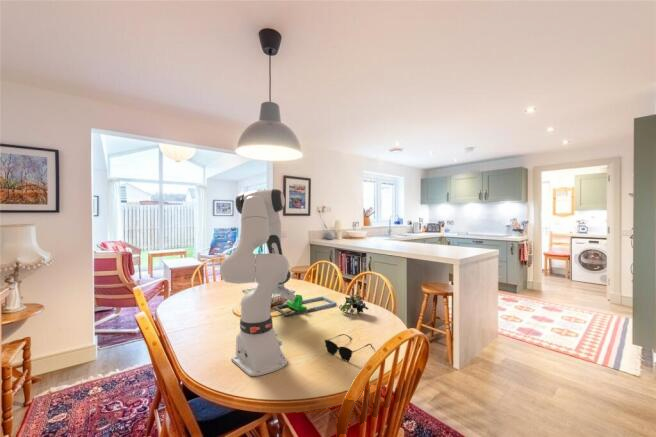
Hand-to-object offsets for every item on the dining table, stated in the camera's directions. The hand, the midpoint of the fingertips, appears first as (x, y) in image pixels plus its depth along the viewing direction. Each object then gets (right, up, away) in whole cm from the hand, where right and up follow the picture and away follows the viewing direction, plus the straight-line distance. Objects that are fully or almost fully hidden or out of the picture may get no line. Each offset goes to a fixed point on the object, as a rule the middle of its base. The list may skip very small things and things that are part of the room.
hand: (292, 300), depth 156 cm
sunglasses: (+29, -7, -45) cm, 54 cm away
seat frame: (+1, -6, 0) cm, 6 cm away
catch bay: (+14, -5, +9) cm, 18 cm away
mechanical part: (+2, -5, +1) cm, 5 cm away
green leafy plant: (+34, -6, -8) cm, 35 cm away
